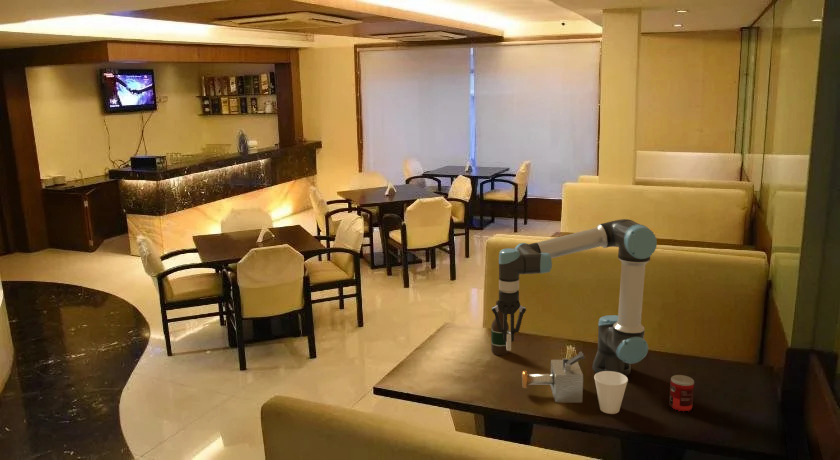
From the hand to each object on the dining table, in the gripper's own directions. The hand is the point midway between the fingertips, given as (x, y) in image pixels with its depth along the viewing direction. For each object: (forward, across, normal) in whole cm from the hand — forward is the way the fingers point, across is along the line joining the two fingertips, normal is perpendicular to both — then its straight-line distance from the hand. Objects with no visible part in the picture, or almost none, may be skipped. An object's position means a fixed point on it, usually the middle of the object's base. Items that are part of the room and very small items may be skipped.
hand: (508, 349), depth 253 cm
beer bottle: (+19, +1, -40) cm, 44 cm away
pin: (+16, -14, 0) cm, 21 cm away
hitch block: (+18, -22, 0) cm, 29 cm away
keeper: (+5, -25, 0) cm, 26 cm away
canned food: (+19, -62, +10) cm, 66 cm away
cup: (+19, -36, +12) cm, 42 cm away
